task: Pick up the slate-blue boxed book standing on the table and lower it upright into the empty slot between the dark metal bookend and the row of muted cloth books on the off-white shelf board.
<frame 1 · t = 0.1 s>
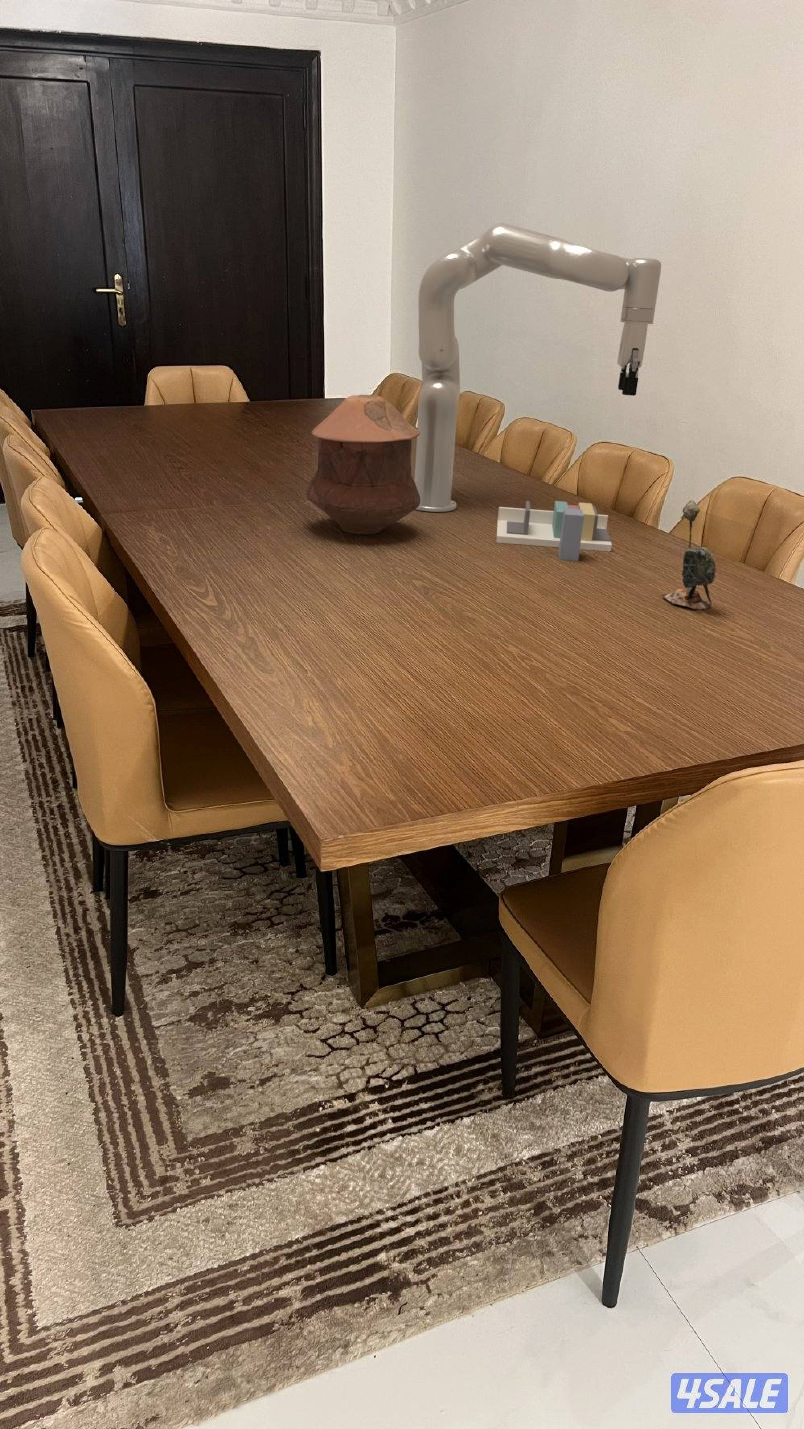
hand: (626, 392, 244), 31 cm above the table, fingers open, 9 cm apart
book shelf: (552, 537, 238), on the table
green and brown figurine: (688, 605, 197), on the table
pottery vessel: (362, 531, 235), on the table
boxed book: (568, 556, 224), on the table
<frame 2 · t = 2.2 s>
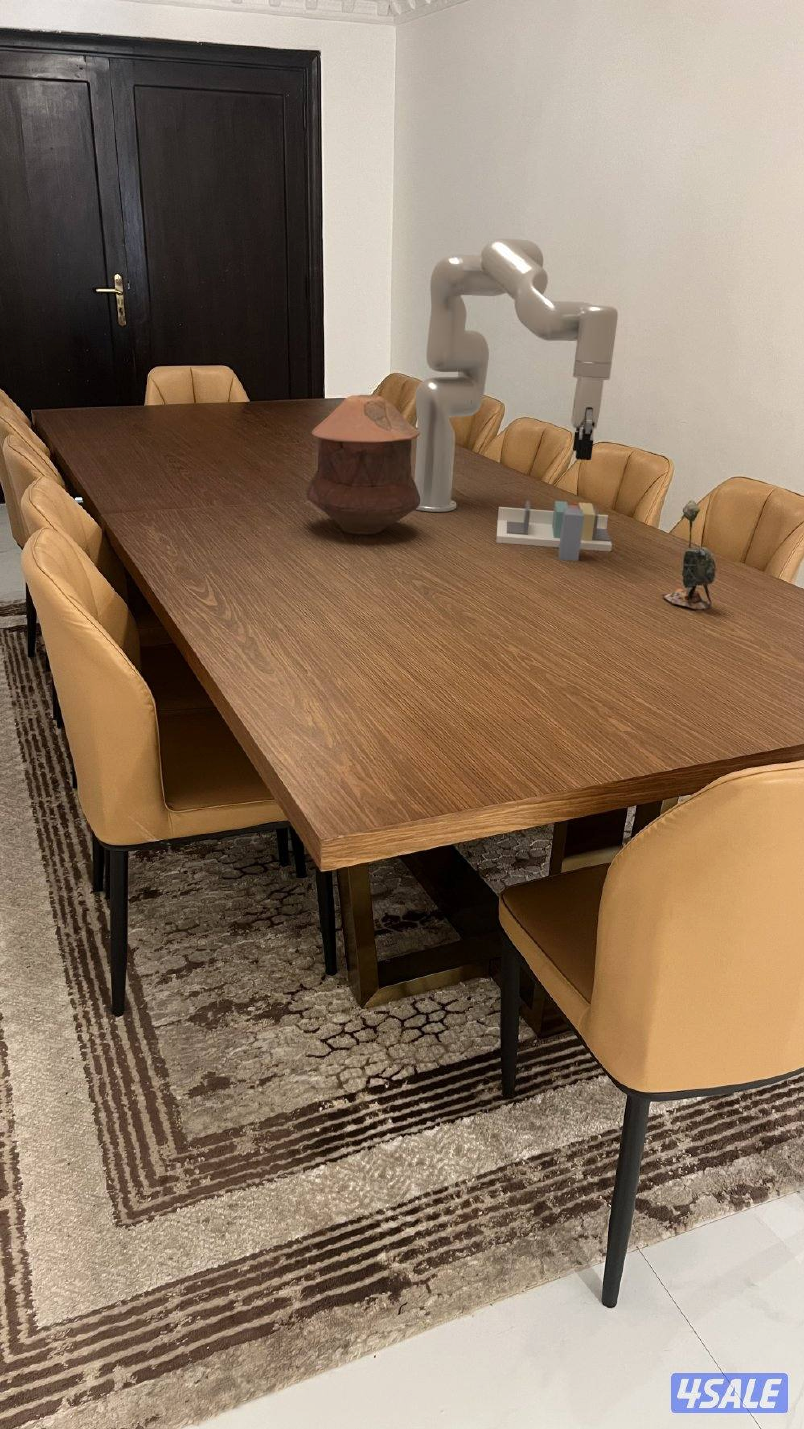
hand: (581, 455, 215), 22 cm above the table, fingers open, 9 cm apart
nothing on the table moved.
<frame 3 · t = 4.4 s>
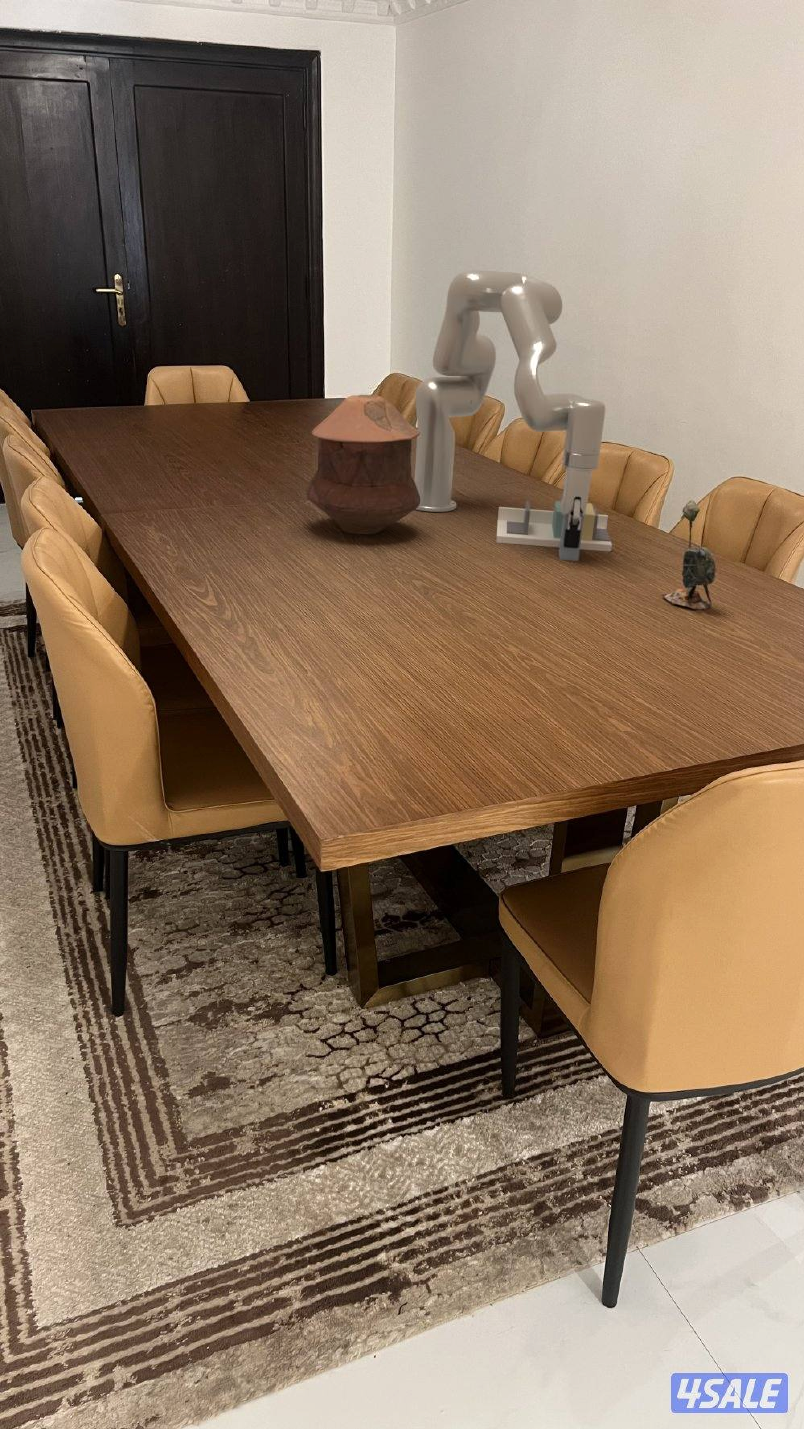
hand: (570, 542, 223), 3 cm above the table, fingers closed on boxed book, 6 cm apart
boxed book: (568, 556, 224), on the table, touching gripper
everything else where it was.
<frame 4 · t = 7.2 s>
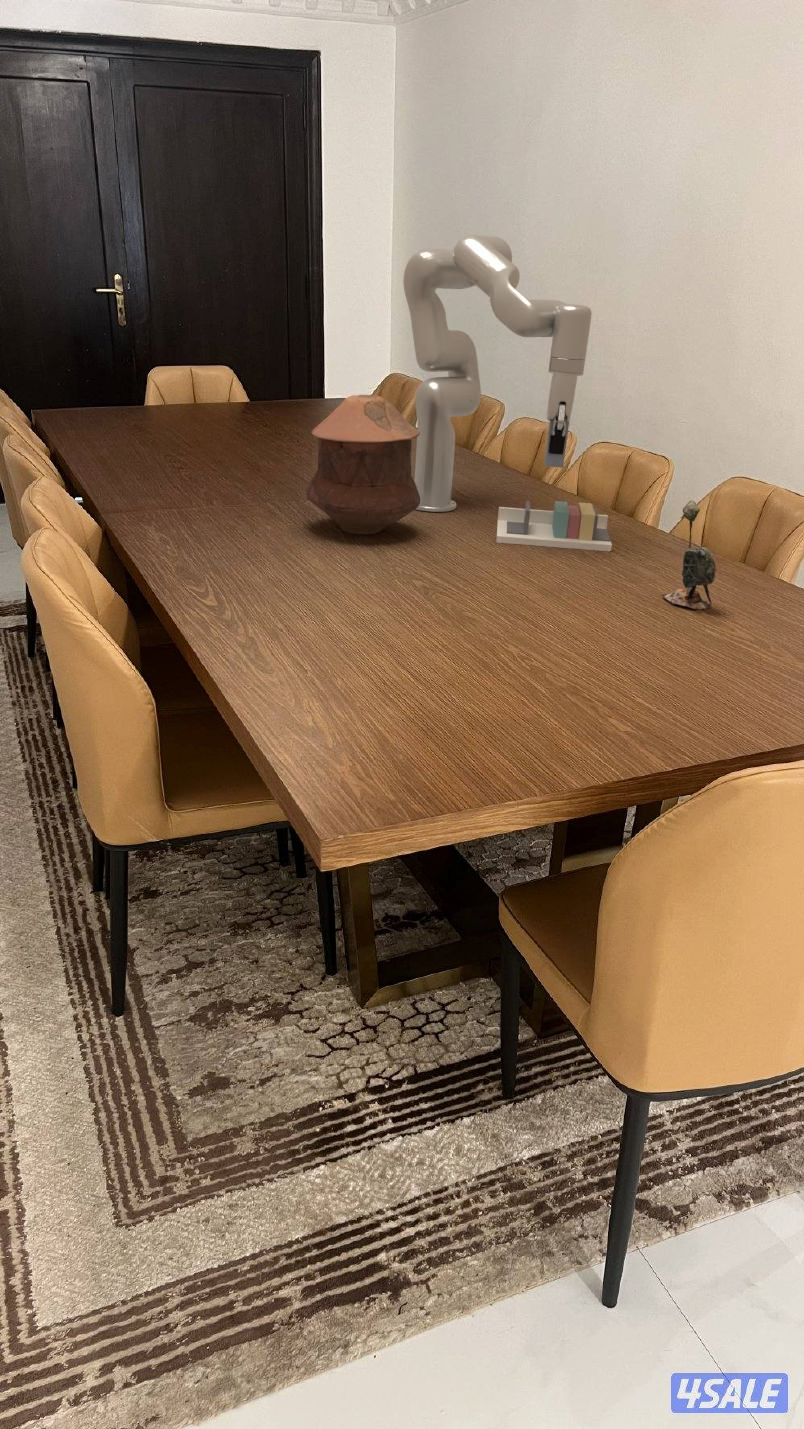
hand: (555, 449, 226), 21 cm above the table, fingers closed on boxed book, 6 cm apart
boxed book: (553, 464, 228), point 18 cm above the table, touching gripper
everything else where it was.
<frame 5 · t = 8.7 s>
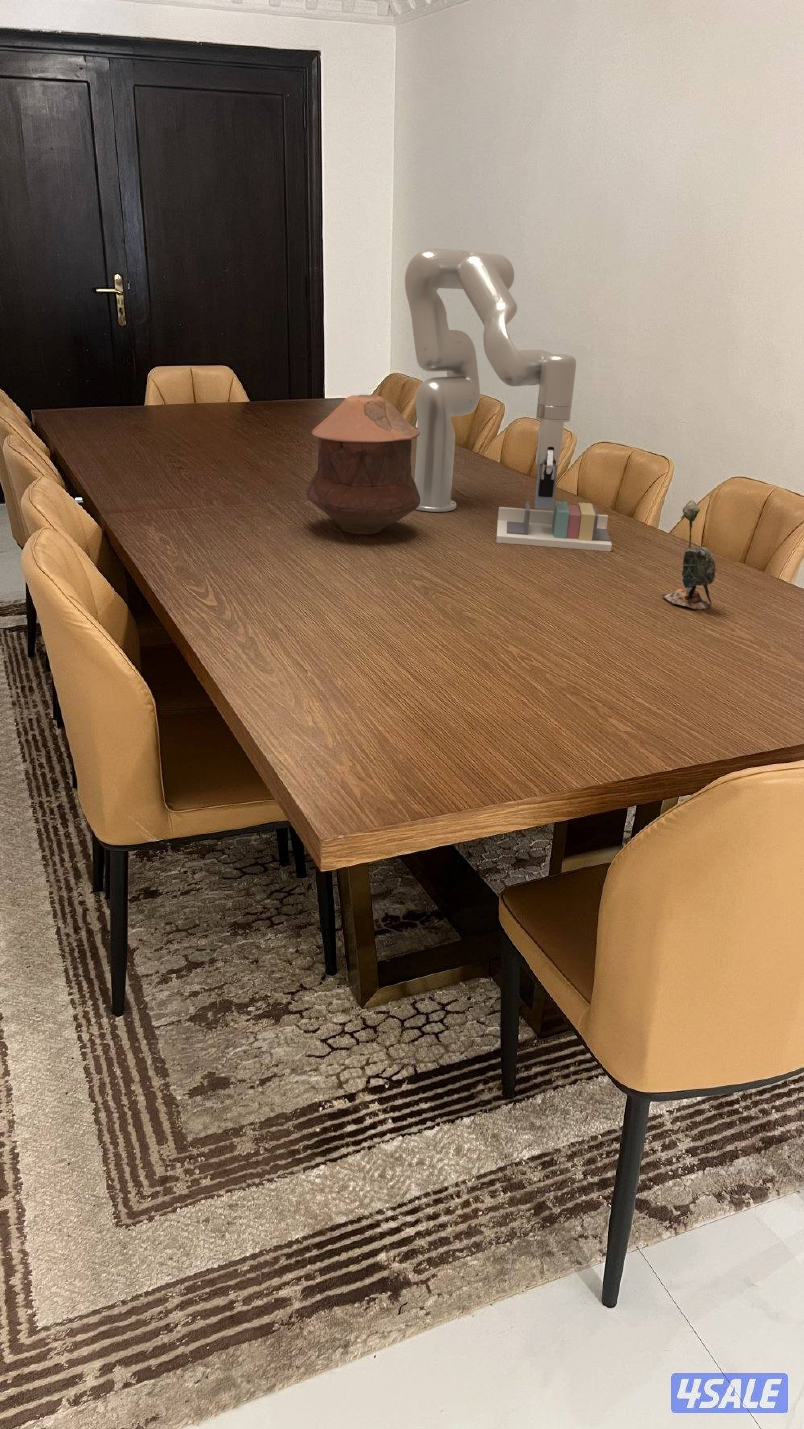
hand: (544, 492, 234), 10 cm above the table, fingers closed on boxed book, 6 cm apart
boxed book: (543, 506, 235), point 7 cm above the table, touching gripper
everything else where it was.
when the fingers open (6 cm above the table, at t = 9.8 s): boxed book drops 1 cm, resting on book shelf.
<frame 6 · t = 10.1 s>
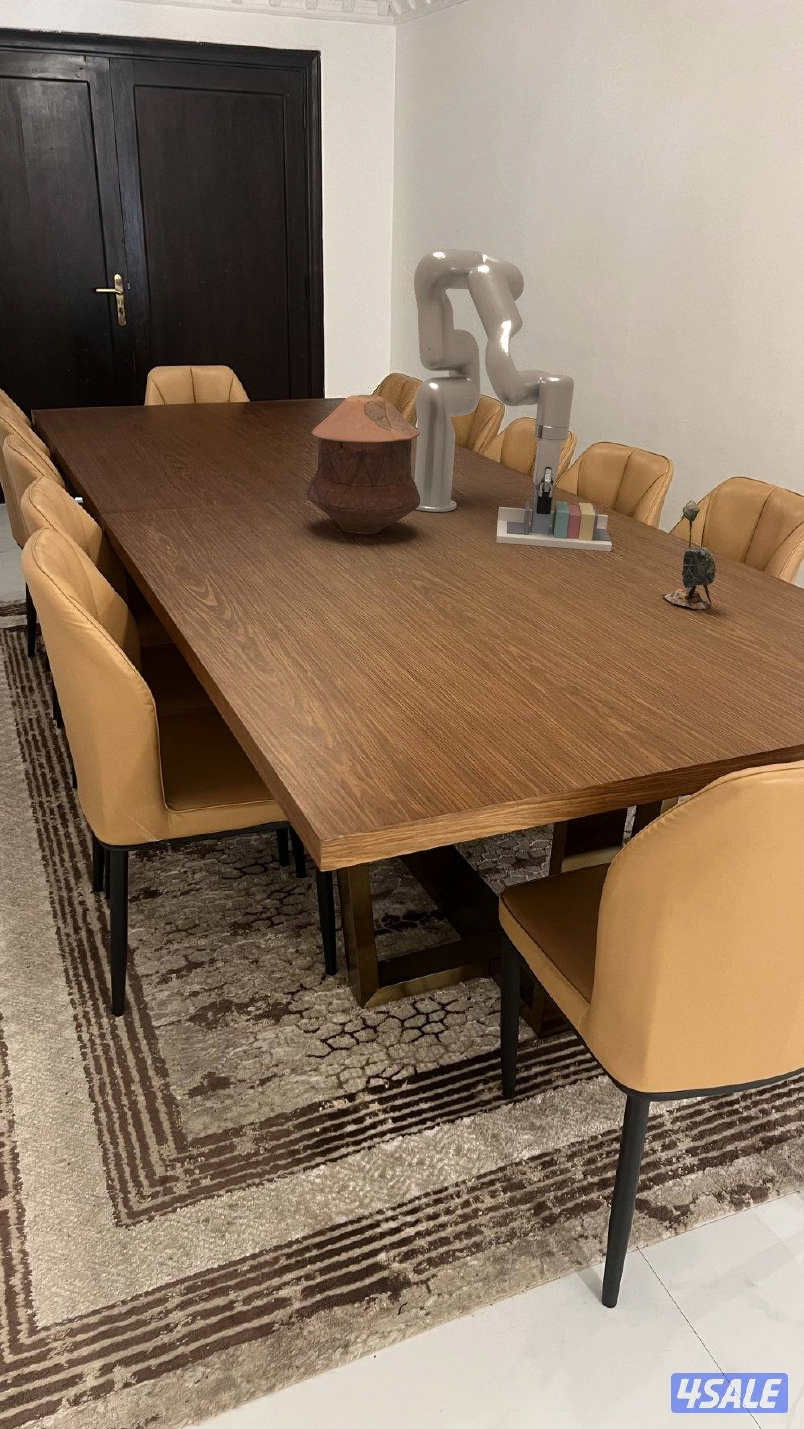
hand: (542, 508, 235), 7 cm above the table, fingers open, 8 cm apart
boxed book: (539, 530, 238), point 1 cm above the table, touching book shelf
everything else where it was.
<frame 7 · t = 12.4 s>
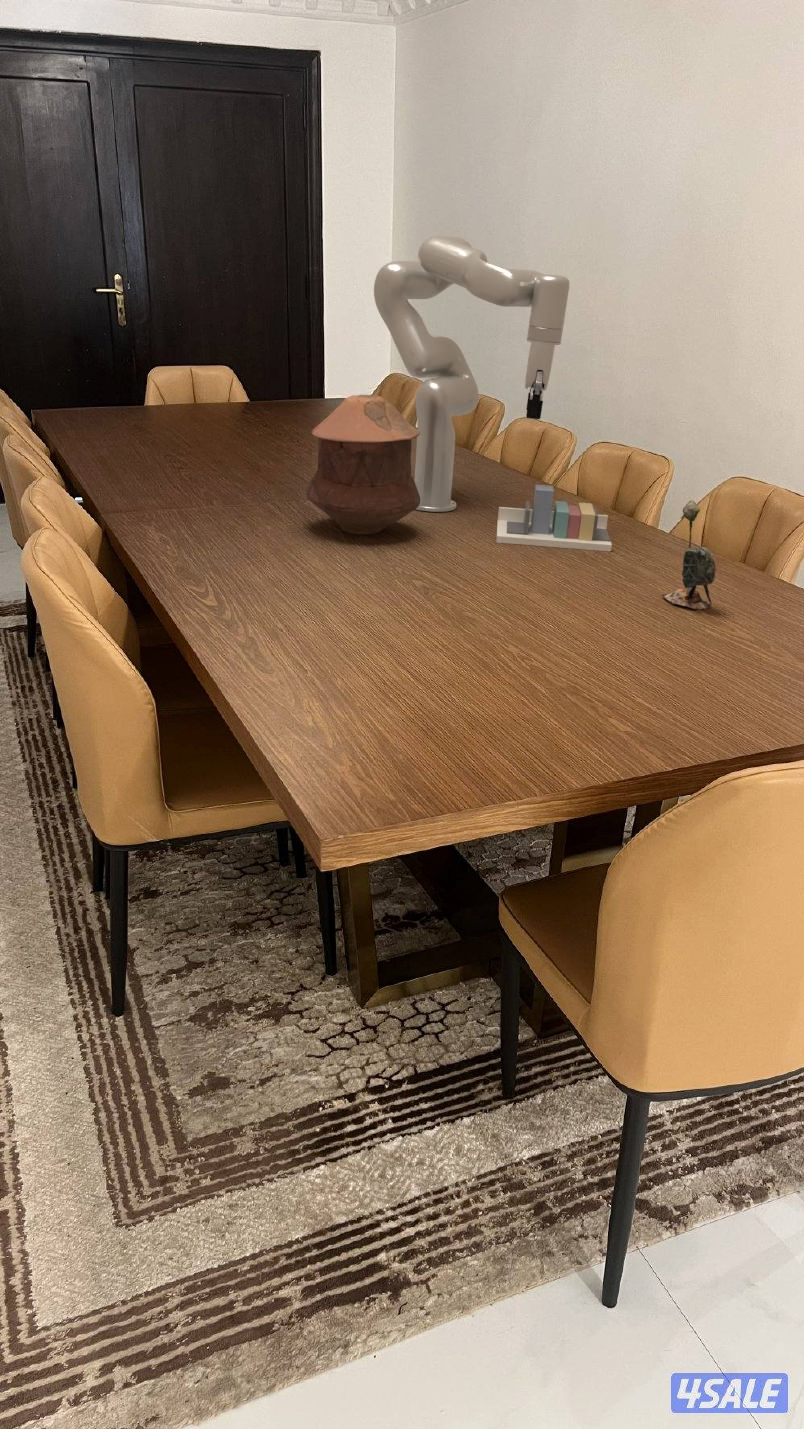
hand: (533, 414, 232), 27 cm above the table, fingers open, 9 cm apart
nothing on the table moved.
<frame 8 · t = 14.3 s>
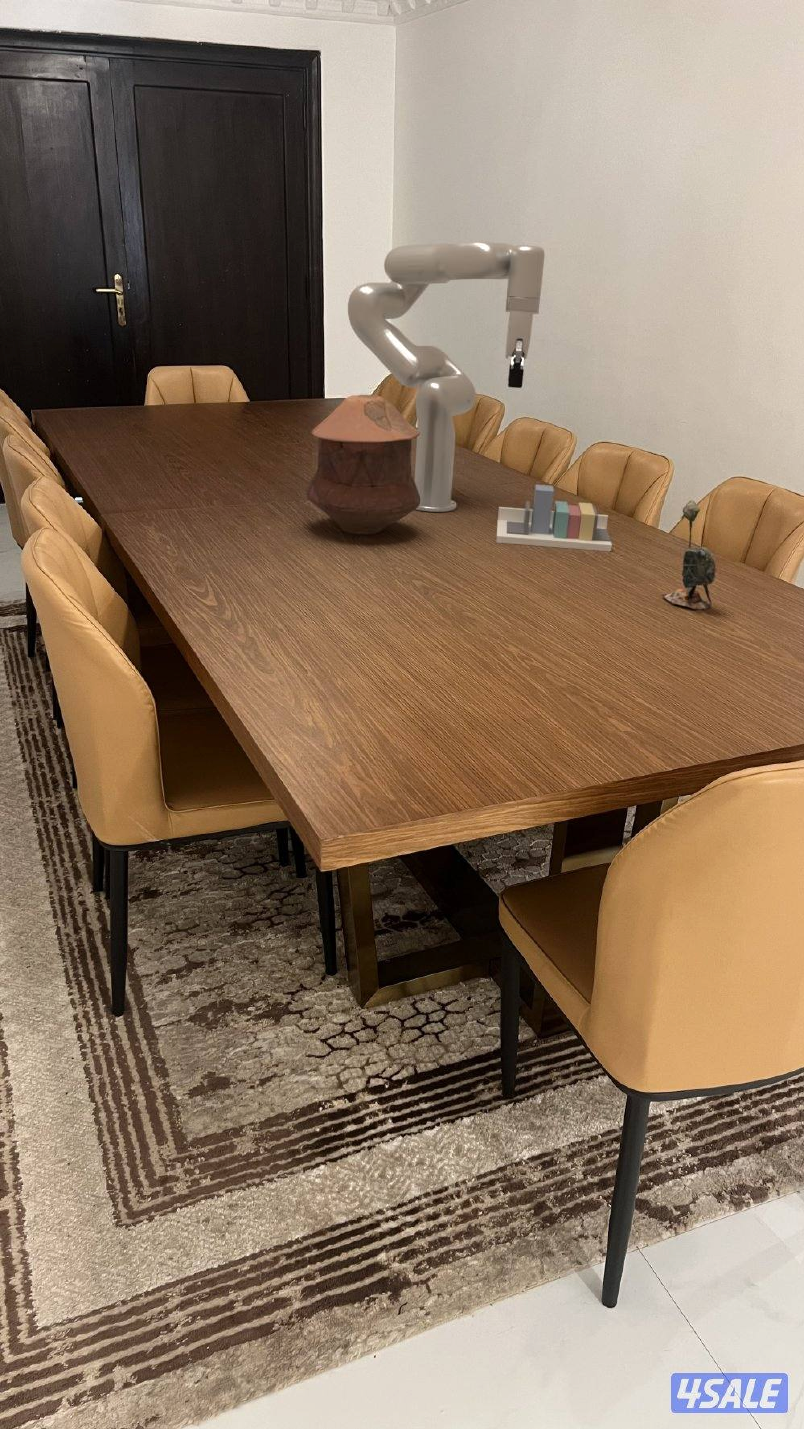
hand: (514, 384, 236), 32 cm above the table, fingers open, 9 cm apart
nothing on the table moved.
at the end: boxed book 0.1 cm from the target spot on the book shelf, point 1.5 cm above the book shelf's base; boxed book tilted 0°; the gripper is holding nothing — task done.
